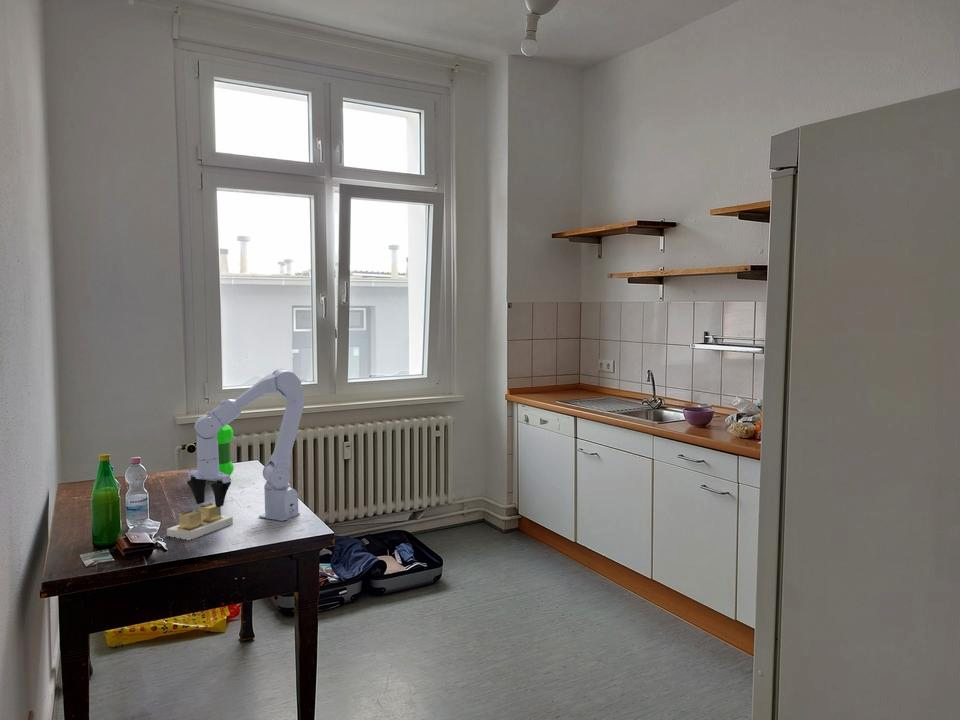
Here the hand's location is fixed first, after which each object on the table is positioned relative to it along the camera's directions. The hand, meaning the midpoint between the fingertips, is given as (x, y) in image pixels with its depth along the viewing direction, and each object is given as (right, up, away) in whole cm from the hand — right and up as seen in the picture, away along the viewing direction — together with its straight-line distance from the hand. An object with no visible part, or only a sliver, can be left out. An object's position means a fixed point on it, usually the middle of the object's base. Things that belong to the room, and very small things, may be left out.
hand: (210, 504), depth 194 cm
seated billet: (-3, -7, -6) cm, 9 cm away
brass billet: (0, -6, 0) cm, 6 cm away
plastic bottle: (-18, -2, +54) cm, 57 cm away
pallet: (-2, -7, -3) cm, 7 cm away
